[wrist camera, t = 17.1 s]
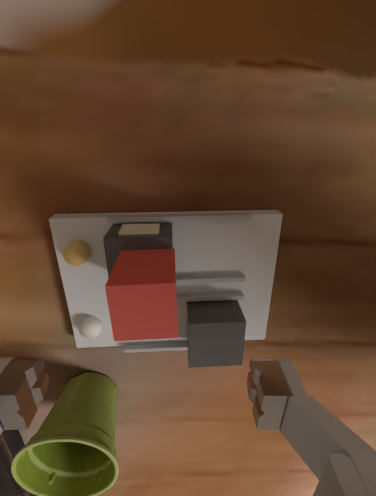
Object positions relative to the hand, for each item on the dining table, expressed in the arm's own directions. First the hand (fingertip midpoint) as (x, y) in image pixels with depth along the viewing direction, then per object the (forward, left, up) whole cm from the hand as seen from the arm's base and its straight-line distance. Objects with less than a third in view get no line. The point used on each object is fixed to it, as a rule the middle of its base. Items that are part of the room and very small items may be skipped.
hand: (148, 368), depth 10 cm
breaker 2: (-5, +9, -14) cm, 17 cm away
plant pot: (+9, +20, -16) cm, 27 cm away
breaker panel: (-1, +5, -15) cm, 16 cm away
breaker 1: (+2, +1, -14) cm, 14 cm away
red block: (+1, +1, -10) cm, 10 cm away
